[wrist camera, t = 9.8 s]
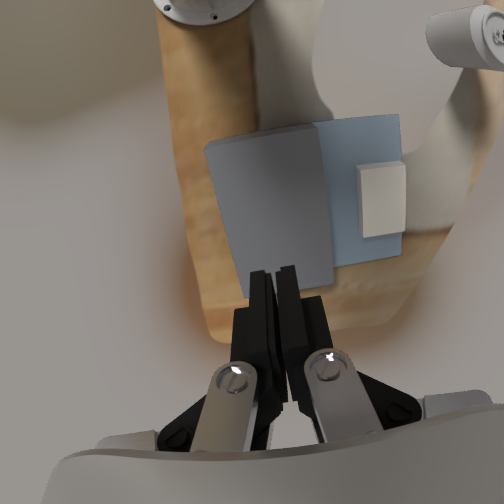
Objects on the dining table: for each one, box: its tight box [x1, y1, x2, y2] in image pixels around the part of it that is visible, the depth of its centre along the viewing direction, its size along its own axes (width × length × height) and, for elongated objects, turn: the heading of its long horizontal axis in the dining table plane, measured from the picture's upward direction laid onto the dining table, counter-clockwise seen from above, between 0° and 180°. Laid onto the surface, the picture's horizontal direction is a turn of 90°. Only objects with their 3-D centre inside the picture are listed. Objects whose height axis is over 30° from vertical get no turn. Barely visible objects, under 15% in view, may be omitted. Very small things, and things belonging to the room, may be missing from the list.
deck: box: [204, 123, 334, 298], centre depth 37 cm, size 20×12×4 cm, turn 12°
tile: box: [356, 161, 406, 238], centre depth 37 cm, size 9×6×2 cm, turn 11°
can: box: [426, 5, 504, 72], centre depth 21 cm, size 8×8×12 cm
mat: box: [312, 114, 402, 267], centre depth 38 cm, size 20×11×1 cm, turn 12°
